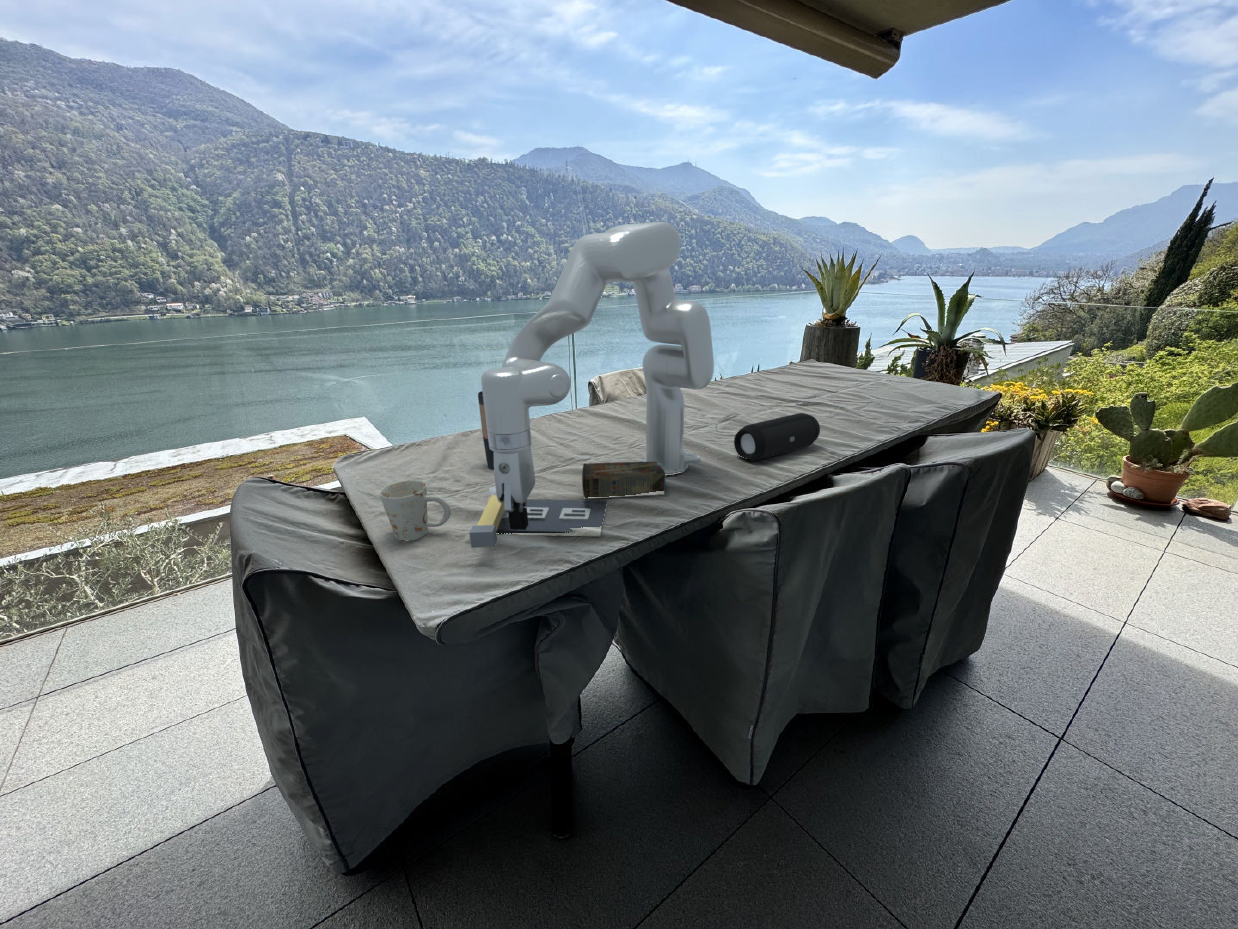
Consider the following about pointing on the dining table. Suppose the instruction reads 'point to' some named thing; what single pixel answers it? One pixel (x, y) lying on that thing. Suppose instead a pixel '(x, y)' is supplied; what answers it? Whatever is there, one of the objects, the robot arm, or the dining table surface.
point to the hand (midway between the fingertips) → (519, 527)
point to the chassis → (557, 516)
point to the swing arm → (488, 523)
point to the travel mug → (485, 433)
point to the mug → (410, 508)
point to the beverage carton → (622, 478)
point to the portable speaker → (776, 436)
